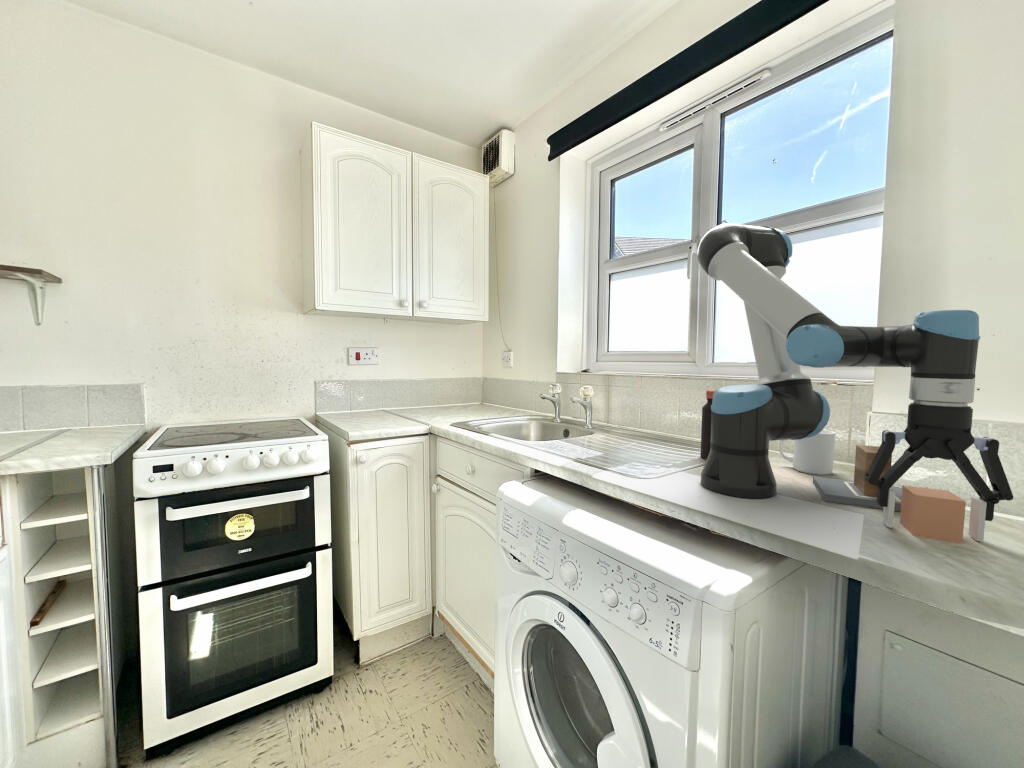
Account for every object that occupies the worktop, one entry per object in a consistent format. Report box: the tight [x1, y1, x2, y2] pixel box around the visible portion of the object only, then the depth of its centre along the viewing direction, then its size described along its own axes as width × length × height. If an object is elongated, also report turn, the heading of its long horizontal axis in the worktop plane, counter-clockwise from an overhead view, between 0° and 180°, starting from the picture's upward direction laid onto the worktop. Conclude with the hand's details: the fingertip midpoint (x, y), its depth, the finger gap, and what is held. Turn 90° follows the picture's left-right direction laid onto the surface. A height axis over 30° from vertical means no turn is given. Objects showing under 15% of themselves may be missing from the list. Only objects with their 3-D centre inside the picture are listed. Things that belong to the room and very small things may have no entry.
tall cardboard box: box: [853, 444, 893, 497], centre depth 87 cm, size 4×8×9 cm, turn 151°
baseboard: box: [812, 476, 902, 513], centre depth 87 cm, size 18×14×2 cm
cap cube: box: [899, 484, 967, 544], centre depth 70 cm, size 6×6×7 cm
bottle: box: [700, 389, 717, 460], centre depth 120 cm, size 7×7×20 cm
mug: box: [778, 428, 836, 476], centre depth 109 cm, size 9×12×11 cm
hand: (929, 531), depth 70 cm, fingers open, 10 cm apart
